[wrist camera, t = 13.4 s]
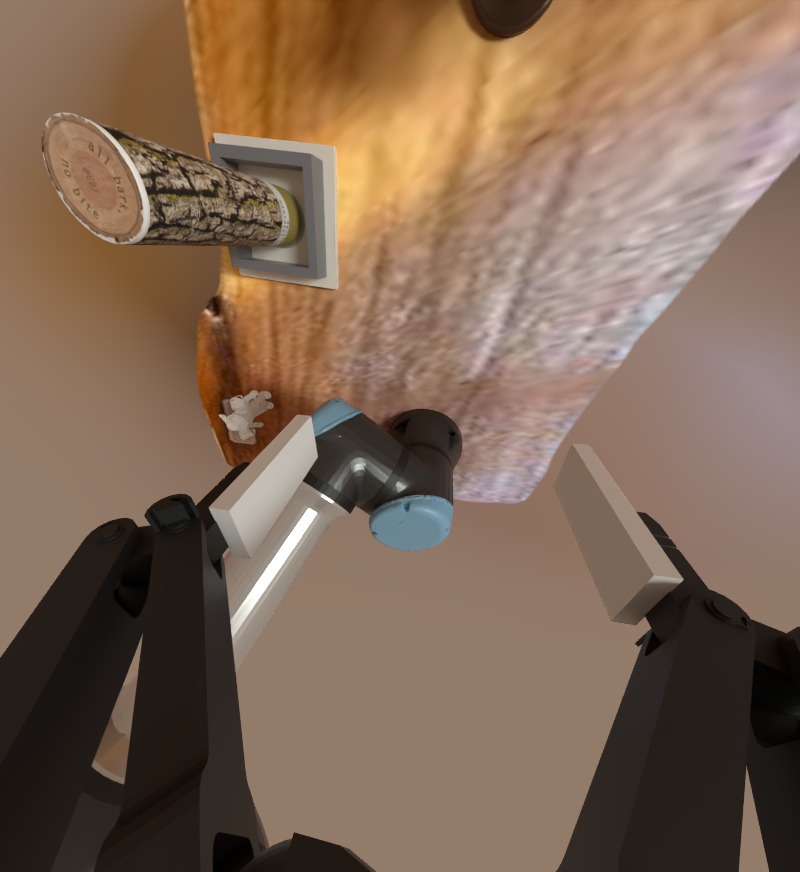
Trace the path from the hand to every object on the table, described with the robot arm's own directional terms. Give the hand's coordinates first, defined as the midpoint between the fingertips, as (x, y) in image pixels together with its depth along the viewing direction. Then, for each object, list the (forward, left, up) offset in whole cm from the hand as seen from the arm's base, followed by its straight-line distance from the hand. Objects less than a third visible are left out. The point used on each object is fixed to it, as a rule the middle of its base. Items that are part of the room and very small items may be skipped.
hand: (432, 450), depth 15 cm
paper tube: (+10, +26, -35) cm, 45 cm away
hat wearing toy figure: (-22, +34, -36) cm, 54 cm away
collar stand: (+9, +26, -36) cm, 45 cm away
